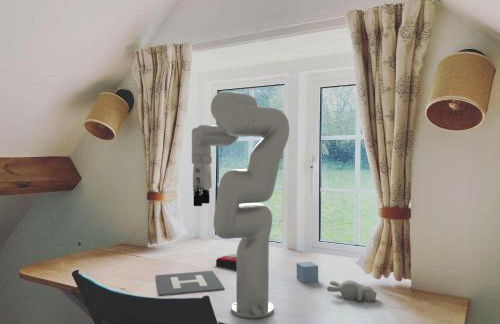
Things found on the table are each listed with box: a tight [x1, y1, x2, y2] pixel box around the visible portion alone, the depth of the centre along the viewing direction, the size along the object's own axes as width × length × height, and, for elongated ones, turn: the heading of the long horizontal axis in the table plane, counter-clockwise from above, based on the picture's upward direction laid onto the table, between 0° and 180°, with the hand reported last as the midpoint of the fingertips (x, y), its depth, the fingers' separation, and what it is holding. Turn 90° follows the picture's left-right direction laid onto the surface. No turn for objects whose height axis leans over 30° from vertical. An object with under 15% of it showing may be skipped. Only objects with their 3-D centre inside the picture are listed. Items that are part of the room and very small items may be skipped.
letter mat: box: [155, 270, 225, 297], centre depth 137 cm, size 22×22×1 cm
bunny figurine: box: [326, 280, 377, 303], centre depth 122 cm, size 10×5×15 cm
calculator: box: [215, 253, 237, 271], centre depth 159 cm, size 11×4×15 cm
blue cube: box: [296, 261, 319, 284], centre depth 140 cm, size 6×6×6 cm
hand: (201, 204), depth 144 cm, fingers open, 9 cm apart
